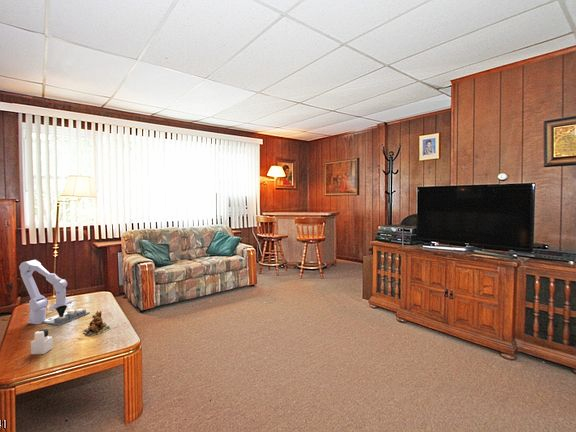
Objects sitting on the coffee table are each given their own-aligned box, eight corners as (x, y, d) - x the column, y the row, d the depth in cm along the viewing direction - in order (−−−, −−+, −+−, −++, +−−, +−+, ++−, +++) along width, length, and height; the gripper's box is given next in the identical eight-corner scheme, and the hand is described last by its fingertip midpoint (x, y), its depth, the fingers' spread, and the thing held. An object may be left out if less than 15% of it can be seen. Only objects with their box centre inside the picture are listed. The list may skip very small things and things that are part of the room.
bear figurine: (78, 333, 201) (77, 315, 200) (100, 325, 214) (100, 308, 214) (91, 337, 195) (91, 318, 194) (113, 328, 208) (113, 311, 208)
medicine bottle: (39, 348, 179) (39, 328, 179) (52, 348, 180) (52, 327, 180) (30, 354, 172) (30, 333, 172) (44, 354, 173) (43, 333, 172)
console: (39, 322, 217) (38, 318, 217) (70, 311, 240) (70, 306, 240) (59, 325, 213) (58, 320, 213) (89, 313, 236) (89, 309, 236)
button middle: (65, 315, 224) (65, 311, 224) (71, 313, 228) (70, 309, 228) (70, 315, 223) (70, 311, 223) (75, 313, 227) (75, 309, 227)
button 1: (56, 321, 217) (56, 317, 217) (62, 319, 221) (61, 315, 221) (61, 321, 216) (60, 317, 216) (66, 319, 220) (66, 315, 220)
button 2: (74, 314, 231) (74, 310, 231) (79, 312, 235) (79, 308, 234) (79, 314, 230) (79, 310, 230) (83, 313, 234) (83, 309, 233)
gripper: (55, 301, 210) (55, 320, 210) (74, 294, 224) (75, 313, 224) (47, 300, 212) (47, 319, 212) (67, 294, 226) (67, 312, 226)
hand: (61, 316), depth 218 cm, fingers closed, pressing on button 1
